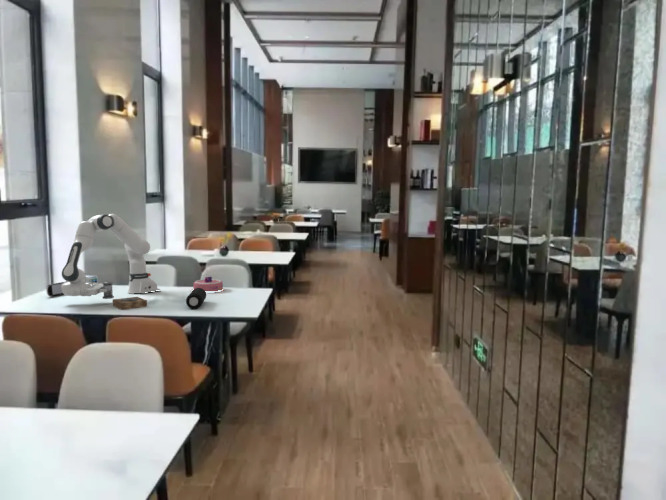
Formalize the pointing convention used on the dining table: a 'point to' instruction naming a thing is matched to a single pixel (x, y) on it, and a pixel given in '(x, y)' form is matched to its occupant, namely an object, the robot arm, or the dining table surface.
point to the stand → (129, 303)
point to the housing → (109, 293)
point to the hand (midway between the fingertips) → (109, 289)
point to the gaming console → (54, 289)
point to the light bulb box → (91, 279)
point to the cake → (209, 284)
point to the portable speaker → (196, 298)
